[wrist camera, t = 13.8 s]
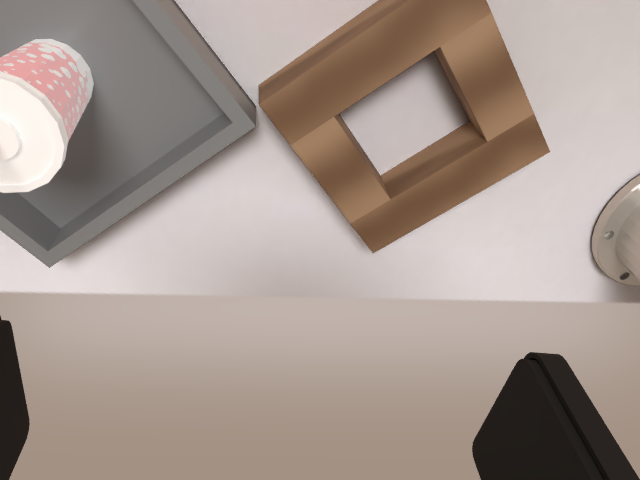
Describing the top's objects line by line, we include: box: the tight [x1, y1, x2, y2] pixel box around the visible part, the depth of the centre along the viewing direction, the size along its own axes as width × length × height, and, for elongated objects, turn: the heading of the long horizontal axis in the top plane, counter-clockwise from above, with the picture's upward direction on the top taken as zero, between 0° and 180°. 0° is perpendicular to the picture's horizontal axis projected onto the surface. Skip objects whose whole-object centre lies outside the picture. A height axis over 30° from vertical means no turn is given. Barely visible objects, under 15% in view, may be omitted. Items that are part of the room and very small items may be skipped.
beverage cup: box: [0, 39, 94, 193], centre depth 27 cm, size 6×6×14 cm
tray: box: [0, 0, 256, 268], centre depth 31 cm, size 18×18×4 cm
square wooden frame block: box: [259, 0, 550, 253], centre depth 35 cm, size 14×14×4 cm
